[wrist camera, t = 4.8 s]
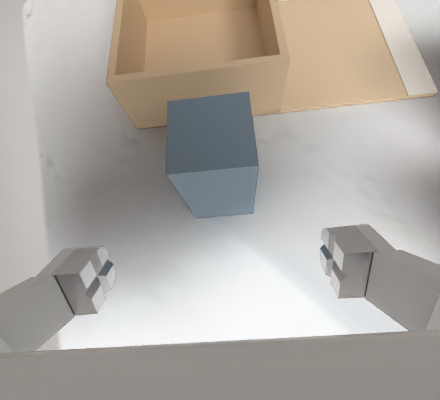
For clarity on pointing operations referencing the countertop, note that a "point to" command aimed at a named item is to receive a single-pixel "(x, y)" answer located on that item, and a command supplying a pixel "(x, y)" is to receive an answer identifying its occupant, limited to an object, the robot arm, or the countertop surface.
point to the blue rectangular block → (213, 154)
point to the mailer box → (262, 54)
